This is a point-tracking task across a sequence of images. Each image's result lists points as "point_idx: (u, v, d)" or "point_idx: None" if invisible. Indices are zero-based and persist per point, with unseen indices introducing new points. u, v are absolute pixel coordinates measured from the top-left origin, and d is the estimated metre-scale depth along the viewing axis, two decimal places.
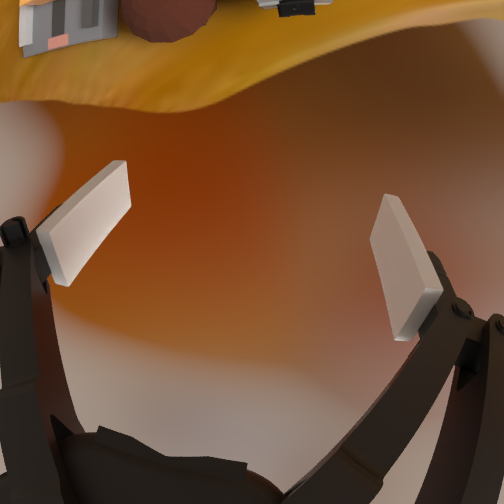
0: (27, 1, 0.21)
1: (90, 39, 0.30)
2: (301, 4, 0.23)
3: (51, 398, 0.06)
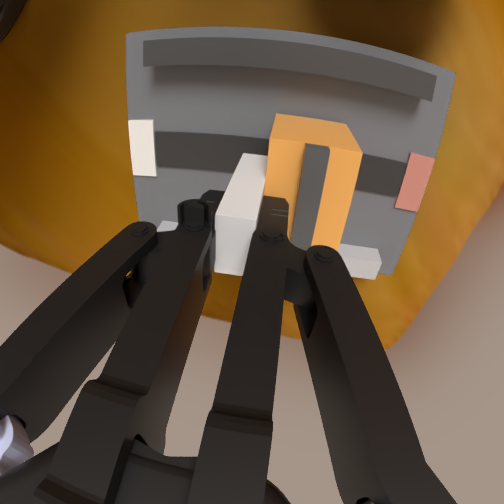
0: (339, 234, 0.15)
1: (447, 100, 0.14)
2: None
3: (148, 415, 0.06)
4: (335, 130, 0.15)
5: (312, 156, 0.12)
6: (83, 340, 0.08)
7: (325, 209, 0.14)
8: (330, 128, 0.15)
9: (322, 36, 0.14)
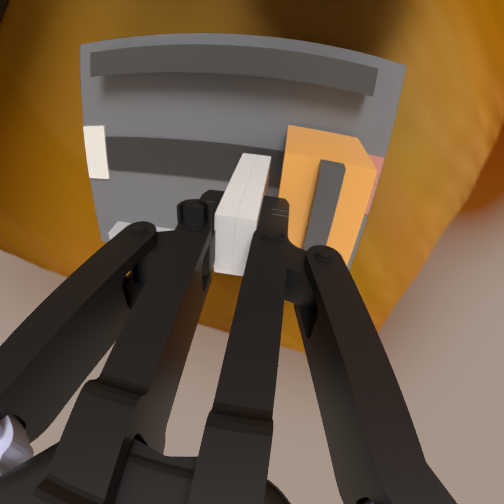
0: (349, 249, 0.15)
1: (397, 95, 0.15)
2: None
3: (147, 415, 0.06)
4: (348, 145, 0.15)
5: (328, 173, 0.12)
6: (83, 340, 0.08)
7: (337, 225, 0.14)
8: (343, 142, 0.15)
9: (257, 36, 0.14)
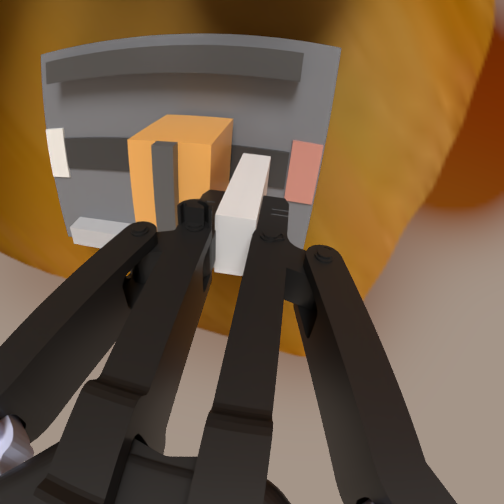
0: None
1: (333, 80, 0.15)
2: None
3: (148, 415, 0.06)
4: (209, 125, 0.15)
5: (158, 153, 0.12)
6: (83, 340, 0.08)
7: None
8: (206, 124, 0.15)
9: (189, 34, 0.14)
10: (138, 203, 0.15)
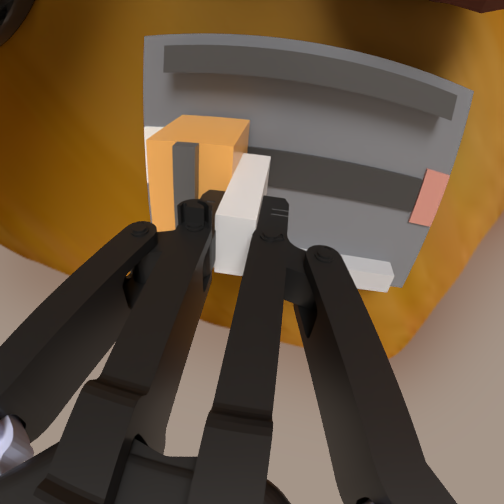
0: None
1: (464, 118, 0.15)
2: None
3: (147, 415, 0.06)
4: (227, 126, 0.15)
5: (179, 154, 0.12)
6: (83, 340, 0.08)
7: None
8: (224, 125, 0.15)
9: (347, 50, 0.14)
10: (155, 204, 0.15)
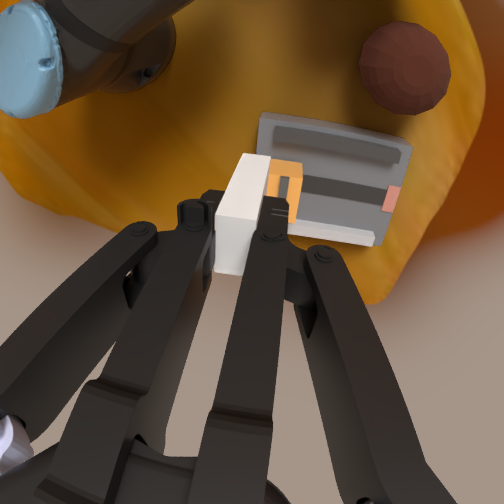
0: (295, 211, 0.37)
1: (407, 160, 0.36)
2: None
3: (147, 415, 0.06)
4: (295, 167, 0.37)
5: (282, 181, 0.34)
6: (83, 340, 0.08)
7: (289, 201, 0.36)
8: (293, 166, 0.37)
9: (352, 133, 0.35)
10: None
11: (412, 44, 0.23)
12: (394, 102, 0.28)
